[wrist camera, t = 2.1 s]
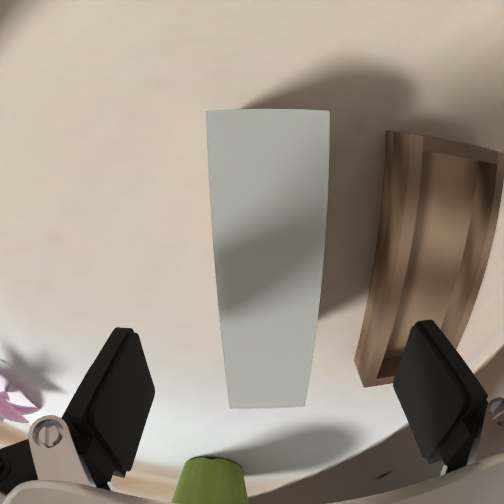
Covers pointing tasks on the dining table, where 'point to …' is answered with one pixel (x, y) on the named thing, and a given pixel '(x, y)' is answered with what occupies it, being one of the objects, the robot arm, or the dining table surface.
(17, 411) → the lily
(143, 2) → the dining table surface
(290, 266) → the pale grey block
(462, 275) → the brown open box
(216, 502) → the plant pot
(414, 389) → the robot arm
